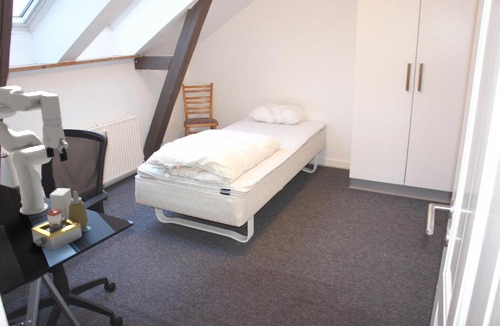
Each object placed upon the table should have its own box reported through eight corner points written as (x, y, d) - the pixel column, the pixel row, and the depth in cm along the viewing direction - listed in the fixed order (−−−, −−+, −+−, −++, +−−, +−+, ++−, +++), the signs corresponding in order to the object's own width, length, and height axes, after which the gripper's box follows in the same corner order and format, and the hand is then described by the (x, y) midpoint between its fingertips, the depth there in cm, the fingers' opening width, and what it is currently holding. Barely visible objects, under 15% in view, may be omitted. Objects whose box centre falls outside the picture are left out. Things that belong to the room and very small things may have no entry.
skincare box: (61, 217, 191) (57, 187, 186) (75, 218, 190) (71, 188, 186) (52, 225, 183) (48, 194, 178) (67, 225, 182) (62, 194, 178)
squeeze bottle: (82, 232, 177) (77, 195, 171) (66, 230, 178) (61, 193, 173) (92, 224, 184) (88, 188, 179) (76, 222, 186) (72, 187, 180)
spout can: (46, 229, 168) (44, 212, 165) (62, 222, 174) (60, 206, 171) (54, 232, 165) (51, 215, 163) (70, 226, 171) (68, 209, 169)
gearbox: (29, 244, 166) (26, 230, 164) (63, 229, 179) (61, 216, 177) (48, 252, 160) (45, 238, 158) (81, 236, 173) (80, 223, 171)
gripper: (32, 121, 176) (38, 157, 181) (56, 126, 167) (61, 164, 172) (48, 118, 182) (53, 153, 187) (72, 123, 173) (76, 160, 179)
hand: (57, 158), depth 180 cm, fingers open, 9 cm apart
